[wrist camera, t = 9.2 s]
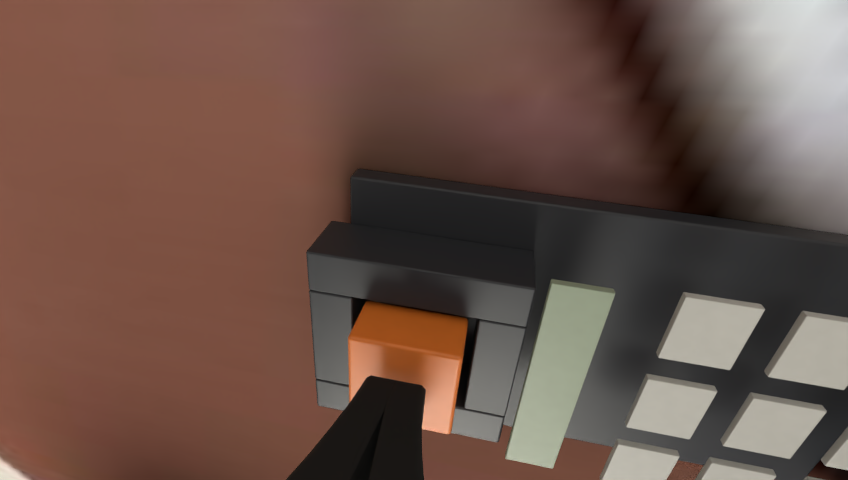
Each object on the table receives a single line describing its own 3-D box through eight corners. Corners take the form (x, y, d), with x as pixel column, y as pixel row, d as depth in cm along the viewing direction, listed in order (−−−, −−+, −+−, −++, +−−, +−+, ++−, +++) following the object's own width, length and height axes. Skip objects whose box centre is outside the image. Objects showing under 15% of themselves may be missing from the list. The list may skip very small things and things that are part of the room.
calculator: (960, 248, 11) (1074, 314, 8) (788, 465, 15) (835, 546, 13) (338, 164, 12) (301, 200, 10) (344, 378, 17) (318, 435, 14)
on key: (469, 316, 11) (462, 358, 10) (457, 390, 13) (450, 436, 12) (365, 298, 12) (346, 337, 10) (365, 373, 13) (348, 415, 12)
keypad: (836, 526, 12) (840, 534, 12) (504, 457, 13) (504, 463, 13) (1017, 343, 9) (1027, 350, 9) (552, 271, 10) (553, 275, 10)
